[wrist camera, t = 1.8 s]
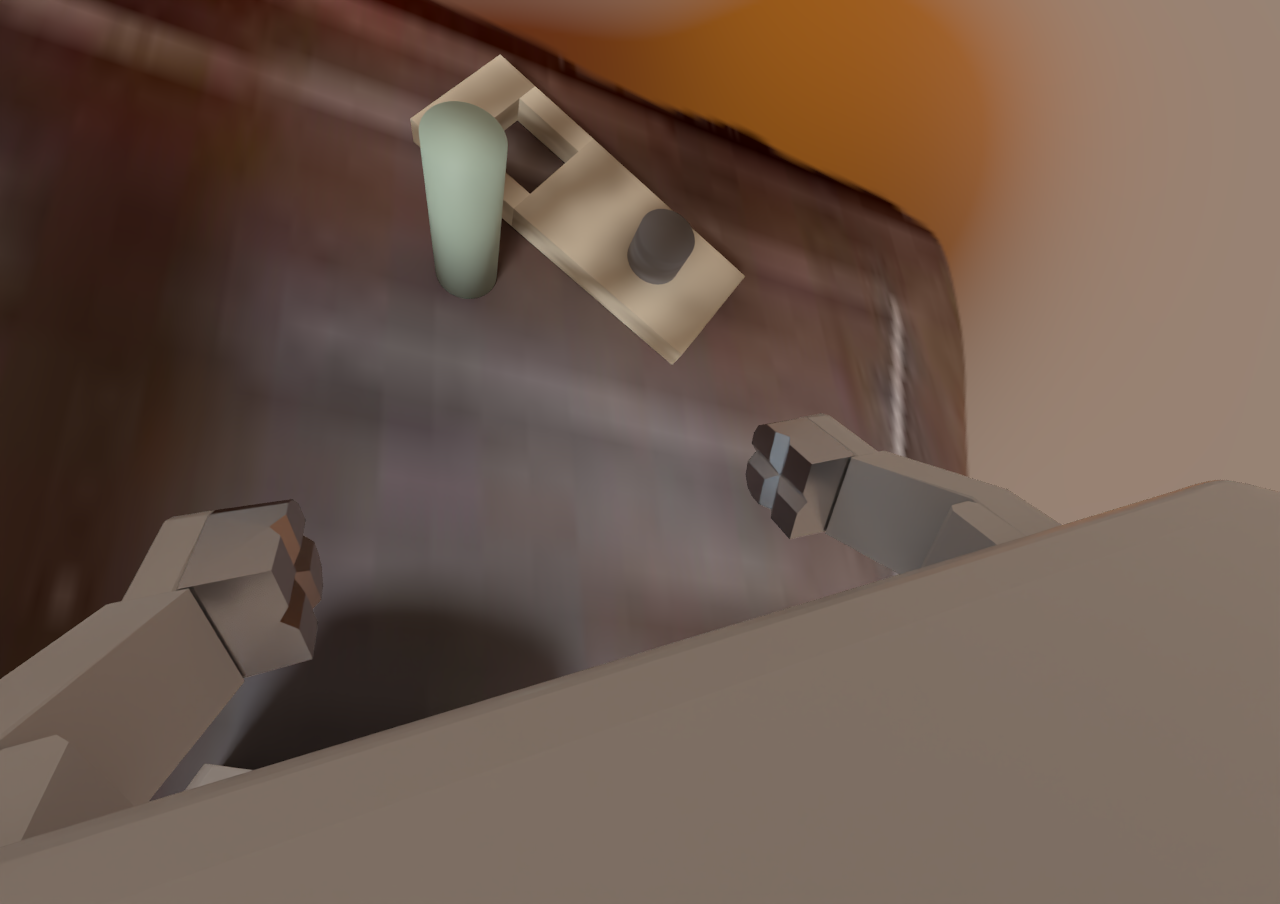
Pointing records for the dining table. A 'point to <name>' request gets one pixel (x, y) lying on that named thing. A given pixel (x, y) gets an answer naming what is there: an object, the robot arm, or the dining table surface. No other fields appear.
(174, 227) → the dining table surface
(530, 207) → the hole plate
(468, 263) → the peg
